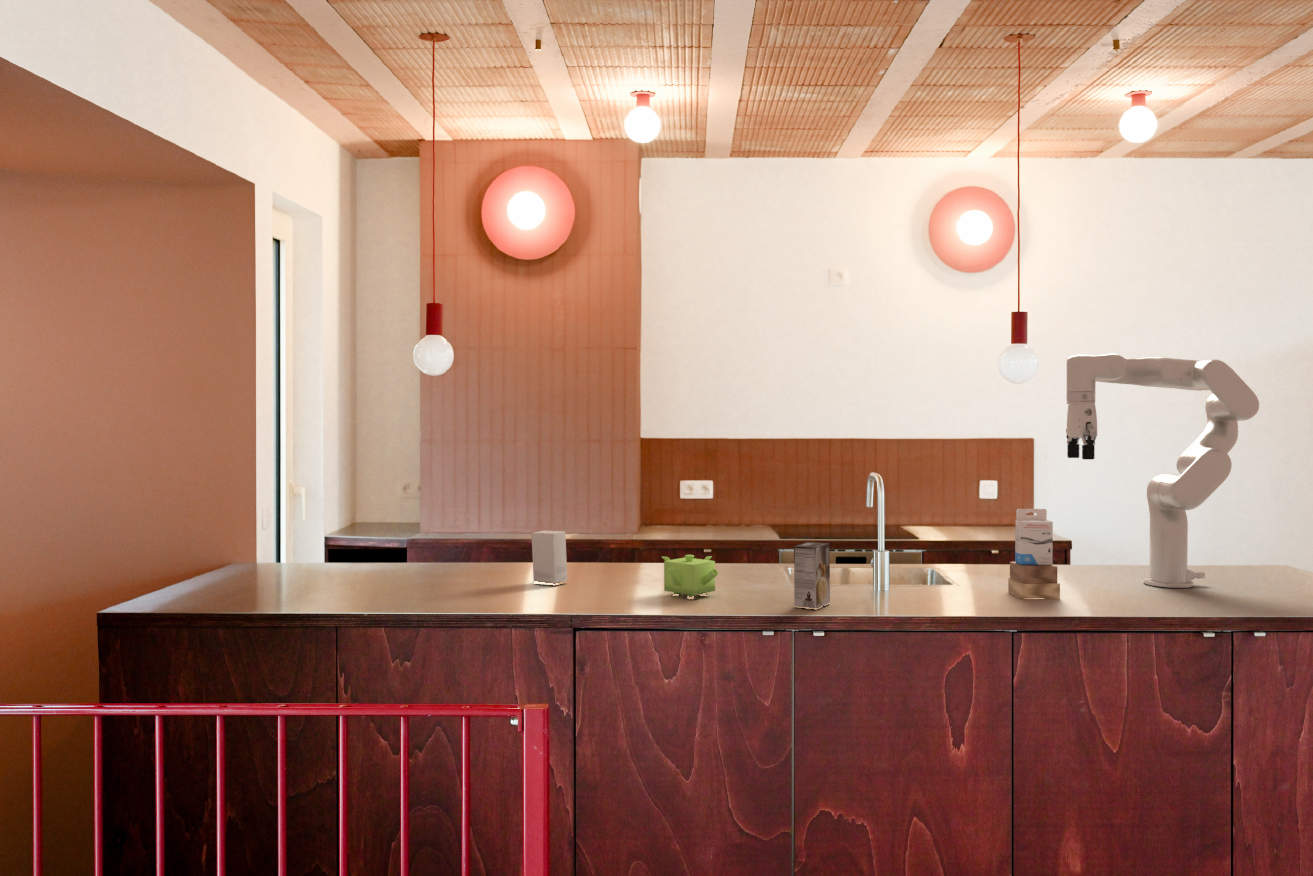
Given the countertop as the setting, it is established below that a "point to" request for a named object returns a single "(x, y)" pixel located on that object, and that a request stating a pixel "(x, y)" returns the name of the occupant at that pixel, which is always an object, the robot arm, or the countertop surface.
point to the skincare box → (549, 556)
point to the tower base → (1034, 590)
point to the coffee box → (811, 574)
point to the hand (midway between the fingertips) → (1080, 458)
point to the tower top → (1033, 573)
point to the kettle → (689, 575)
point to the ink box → (1033, 537)
